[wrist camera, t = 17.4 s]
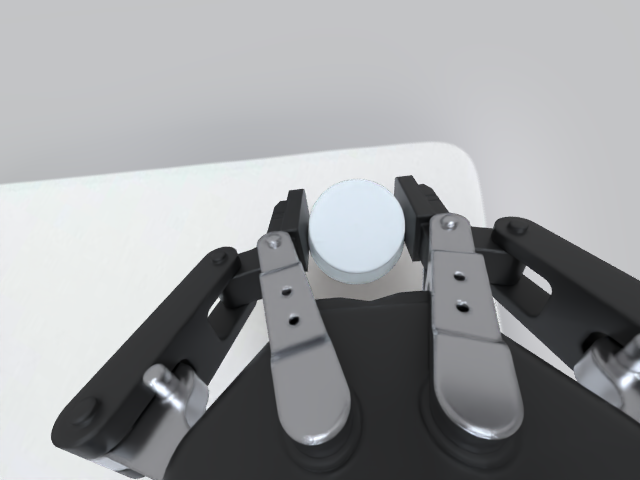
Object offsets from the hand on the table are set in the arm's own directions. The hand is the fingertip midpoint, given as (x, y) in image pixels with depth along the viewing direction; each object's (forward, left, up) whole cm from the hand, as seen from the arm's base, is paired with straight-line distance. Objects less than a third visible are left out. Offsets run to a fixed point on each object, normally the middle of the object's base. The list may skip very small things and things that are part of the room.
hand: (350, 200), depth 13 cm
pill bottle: (-1, +1, -4) cm, 5 cm away
